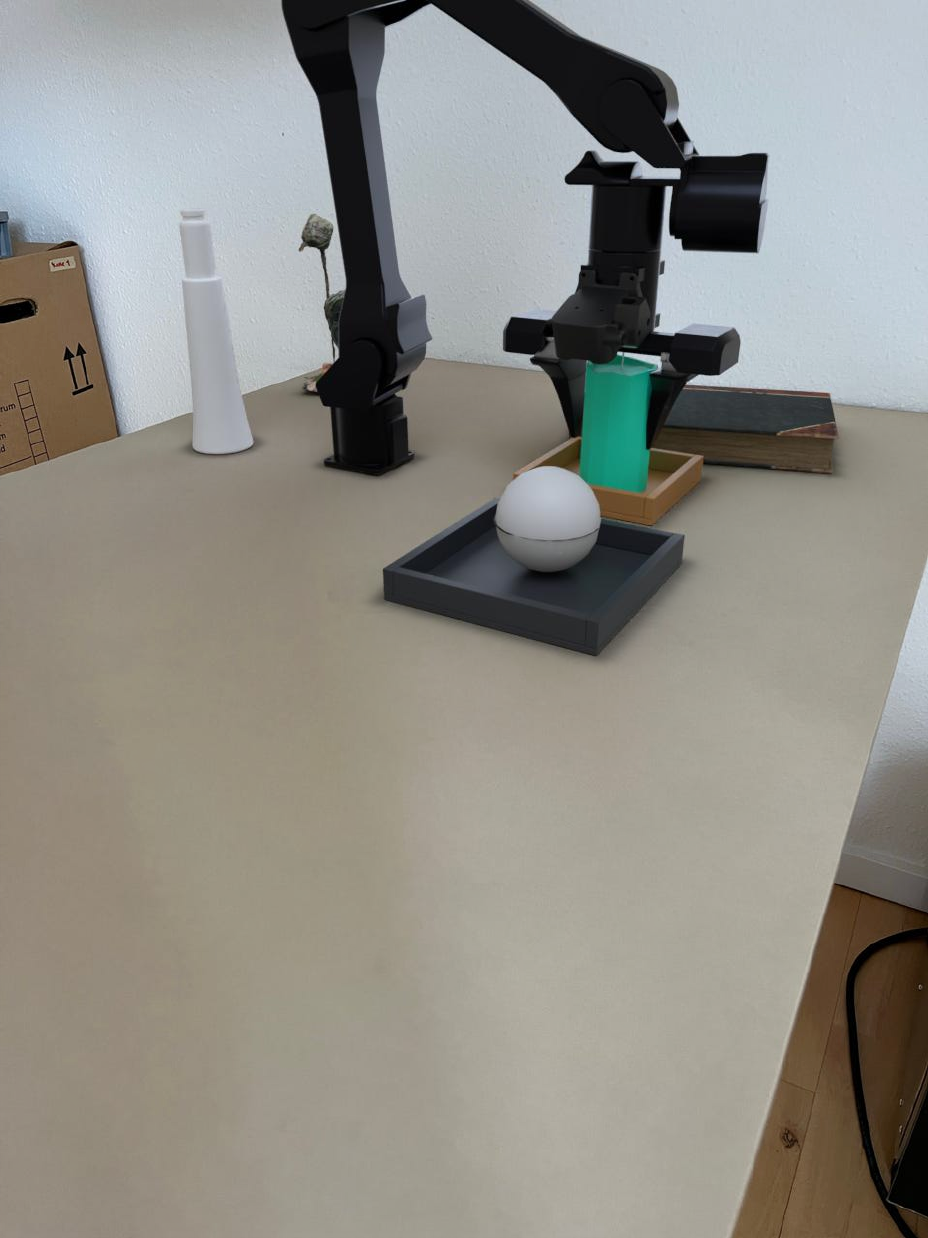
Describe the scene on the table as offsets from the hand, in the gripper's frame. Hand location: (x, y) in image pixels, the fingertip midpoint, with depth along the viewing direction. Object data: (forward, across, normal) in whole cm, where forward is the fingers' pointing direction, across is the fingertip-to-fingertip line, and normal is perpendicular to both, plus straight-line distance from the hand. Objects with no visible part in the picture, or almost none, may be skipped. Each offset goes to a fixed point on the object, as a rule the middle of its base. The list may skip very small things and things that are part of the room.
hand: (610, 442), depth 81 cm
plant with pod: (+4, -42, +18) cm, 46 cm away
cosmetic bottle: (+4, -39, -7) cm, 40 cm away
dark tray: (+4, +3, -20) cm, 21 cm away
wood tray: (+4, 0, 0) cm, 4 cm away
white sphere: (+4, +4, -20) cm, 21 cm away
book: (+4, +2, +19) cm, 20 cm away
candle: (+4, 0, 0) cm, 4 cm away
